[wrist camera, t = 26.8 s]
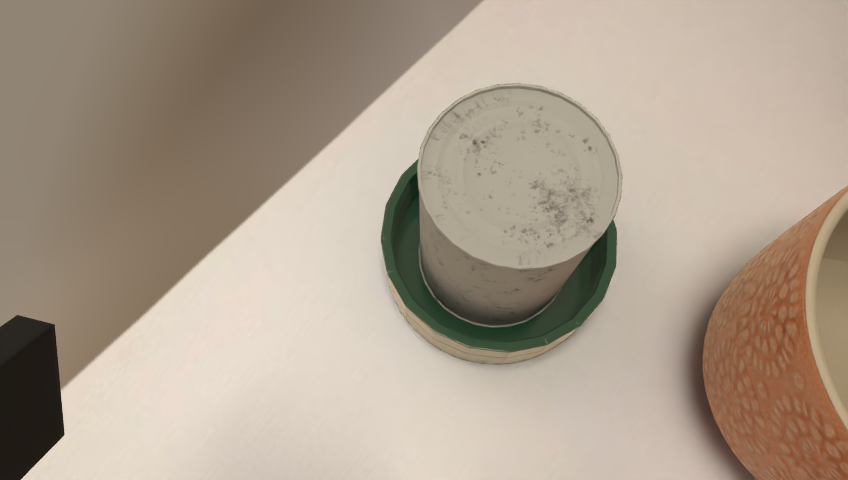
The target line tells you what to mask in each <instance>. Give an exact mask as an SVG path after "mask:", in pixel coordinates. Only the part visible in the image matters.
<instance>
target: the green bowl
mask: <svg viewBox="0 0 848 480" xmlns="http://www.w3.org/2000/svg"><path fill="white" fill-rule="evenodd" d="M417 165H418V160H417V161H416V162H415V163H414V164H412V165H411V166H410V167H409V168H408V169H407V170H406V171H405V172H404V173H403V174H402V176H401V177H400V179H399V181H398V183H397V185H396V187H395V188H394V190H393V192H392V194H391V196H390V198H389V200H388V202H387V204H386V207H385V214H384V220H383V227H382V234H381V244H382V249H383V255H384V260H385V266H386V271H387V276H388V282H389V287H390V290H391V293H392V295H393V297H394V299H395V301H396V303H397V305H398V307H399V309H400V311H401V313H402V314H403V316H404V317H405V318H406V320H407V321H408V323H409V324H410V325H411V326H412V327H413V328H414V329H415V330H416V331H417V333H419V334H420V335H421V336H422V337H423V338H424V339H426V340H427V341H428V342H429V343H431V344H432V345H434V346H435V347H437V348H439V349H440V350H442V351H444V352H446V353H448V354H450V355H452V356H455V357H458V358H461V359H464V360H467V361H472V362H477V363H483V364H506V363H514V362H519V361H524V360H527V359H530V358H533V357H536V356H538V355H540V354H542V353H544V352H546V351H548V350H550V349H552V348H553V347H555V346H556V345H557V344H559V343H561V342H562V341H564V340H566V339H567V338H568V337H569V336H570V335H571V334H572V333H573V332H574V331H575V330H576V329H578V328H579V327H580V326H581V325H582V323H583V322H584V321H585V320H586V319H587V318H588V316H589V315H590V314H591V313H592V312H593V311H594V309H595V308H596V307H597V306H598V305H599V303H600V302H601V301H602V300H603V298H604V296H605V294H606V291H607V288H608V286H609V283H610V280H611V278H612V275H613V272H614V270H615V267H616V245H617V231H616V227H615V223H614V220H612V221H611V223H610V225H609V226H608V228H607V229H606V231H605V232H604V234H603V235H602V237H601V238H599V239H598V240H597V241H596V242H595V243H594V244H593V245H592V247H591V248H590V249H589V251H588V252H587V254H586V255H585V256H584V258H583V259H582V260H581V262H580V263H579V264H578V266H577V267H576V268H575V270H574V271H573V272H572V274H571V275H570V277H569V278H568V279H567V281H566V282H565V283H564V285H563V286H562V288H561V290H560V291H559V293H558V294H557V296H556V298H555V299H554V301H553V302H552V303H551V304H550V305H549V306H548V307H547V308H546V309H545V310H544V311H543V312H542V313H541V314H539V315H537V316H536V317H534V318H532V319H530V320H529V321H527V322H524V323H521V324H518V325H514V326H511V327H501V328H489V327H482V326H476V325H473V324H470V323H468V322H465V321H463V320H460V319H458V318H457V317H455V316H454V315H452V314H451V313H449V312H448V311H446V310H445V309H444V308H443V307H442V306H441V305H440V304H439V303H438V302H437V301H436V300H435V299H434V298H433V296H432V295H431V293H430V291H429V290H428V288H427V286H426V285H425V283H424V280H423V276H422V273H421V270H420V265H419V245H420V206H419V189H418V175H417Z"/></svg>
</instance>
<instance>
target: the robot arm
mask: <svg viewBox="0 0 848 480" xmlns="http://www.w3.org/2000/svg"><path fill="white" fill-rule="evenodd" d="M63 436H64V424H63V413H62V402H61V391H60V380H59V368H58V357H57V347H56V336H55V325H54V324H50V323H46V322H42V321H38V320H34V319H31V318H27V317H23V316H19V315H17V316H15V317H14V318H13V319H11V320H10V321H8V322H7V323H5V324H4V325H2V326H1V327H0V480H21V479H22V478H23V477H24V476H25V475H26V474H27V473H28V471H29V470H30V469H31V468H32V467H33V466H34V465H35V464H36V463H37V462H38V461H39V460H40V459H41V458H42V457H43V456H44V455H45V454H46V453H47V452H48V451H49V450H50V449H51V448H52V447H53V446H54V445H55V444H56V443H57V442H58V441H59V440H60V439H61V438H62V437H63Z"/></svg>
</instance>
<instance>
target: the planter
mask: <svg viewBox="0 0 848 480" xmlns="http://www.w3.org/2000/svg"><path fill="white" fill-rule="evenodd" d="M703 377H704V384H705V390H706V394H707V398H708V402H709V405H710V408H711V411H712V414H713V416H714V419H715V421H716V423H717V425H718V427H719V429H720V431H721V433H722V435H723V437H724V439H725V440H726V442H727V444H728V445H729V447H730V448H731V450H732V451H733V453H734V454H735V455H736V457H737V458H738V459H739V461H740V462H741V463H742V464H743V466H744V467H745V468H746V469H747V470H748V471H749V472H750V473H751V474H752V475H753V476H754V477H755V478H756V479H757V480H848V186H847V187H845V188H844V189H842V190H841V191H840V192H838V193H837V194H836V195H834V196H833V197H832V198H830V199H829V200H828V201H826V202H825V203H823V204H822V205H821V206H819V207H818V208H817V209H816V210H814V211H813V212H812V213H810V214H809V215H808V216H806V217H805V218H804V219H802V220H801V221H800V222H798V223H797V224H795V225H794V226H793V227H791V228H790V229H789V230H787V231H786V232H785V233H783V234H782V235H781V236H779V237H778V238H777V239H776V240H774V241H773V242H772V243H770V244H769V245H768V246H767V247H766V248H764V249H763V250H762V251H761V252H760V253H759V254H757V255H756V256H755V257H754V258H753V259H752V260H750V261H749V262H748V263H747V264H746V265H745V266H744V267H743V269H742V270H741V271H740V272H739V273H738V274H737V275H736V277H735V278H734V279H733V280H732V281H731V282H730V284H729V285H728V286H727V288H726V289H725V290H724V292H723V294H722V295H721V297H720V298H719V300H718V302H717V304H716V306H715V308H714V310H713V312H712V315H711V317H710V320H709V323H708V327H707V331H706V335H705V340H704V346H703Z"/></svg>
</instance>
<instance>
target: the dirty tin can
mask: <svg viewBox="0 0 848 480" xmlns="http://www.w3.org/2000/svg"><path fill="white" fill-rule="evenodd" d="M417 175H418V189H419V206H420V245H419V265H420V270H421V273H422V276H423V280H424V283H425V285H426V286H427V288H428V290H429V291H430V293H431V295H432V296H433V298H434V299H435V300H436V301H437V302H438V303H439V304H440V305H441V306H442V307H443V308H444V309H445V310H446V311H448V312H449V313H451V314H452V315H454V316H455V317H457V318H458V319H460V320H463V321H465V322H468V323H470V324H473V325H476V326H482V327H489V328H501V327H511V326H514V325H518V324H521V323H524V322H527V321H529V320H530V319H532V318H534V317H536V316H537V315H539V314H541V313H542V312H543V311H544V310H545V309H546V308H547V307H548V306H549V305H550V304H551V303H552V302H553V301H554V299H555V298H556V296H557V294H558V293H559V291H560V290H561V288H562V286H563V285H564V283H565V282H566V281H567V279H568V278H569V277H570V275H571V274H572V272H573V271H574V270H575V268H576V267H577V266H578V264H579V263H580V262H581V260H582V259H583V258H584V256H585V255H586V254H587V252H588V251H589V249H590V248H591V247H592V245H593V244H594V243H595V242H596V241H597V240H598V239H599V238H601V237H602V235H603V234H604V232H605V231H606V229H607V228H608V226H609V225H610V223H611V221H612V220H613V218H614V217H615V214H616V211H617V208H618V205H619V201H620V198H621V189H622V171H621V166H620V161H619V155H618V153H617V151H616V148H615V146H614V144H613V142H612V139H611V137H610V135H609V134H608V133H607V131H606V130H605V128H604V127H603V126H602V124H601V123H600V122H599V120H598V119H597V118H596V117H595V116H594V115H593V114H591V113H590V112H589V111H588V110H587V109H586V108H585V107H583V106H582V105H581V104H580V103H578V102H576V101H574V100H573V99H571V98H569V97H567V96H566V95H564V94H562V93H560V92H557V91H554V90H551V89H548V88H545V87H542V86H536V85H529V84H521V83H514V84H497V85H494V86H490V87H486V88H482V89H478V90H476V91H474V92H472V93H470V94H467V95H465V96H463V97H461V98H459V99H458V100H456V101H455V102H454V103H453V104H451V105H450V106H449V107H448V108H446V109H445V110H444V111H443V112H442V113H441V114H440V115H439V116H438V118H437V119H436V120H435V122H434V123H433V124H432V125H431V127H430V128H429V130H428V132H427V134H426V136H425V139H424V141H423V143H422V145H421V148H420V153H419V159H418V165H417Z"/></svg>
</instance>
